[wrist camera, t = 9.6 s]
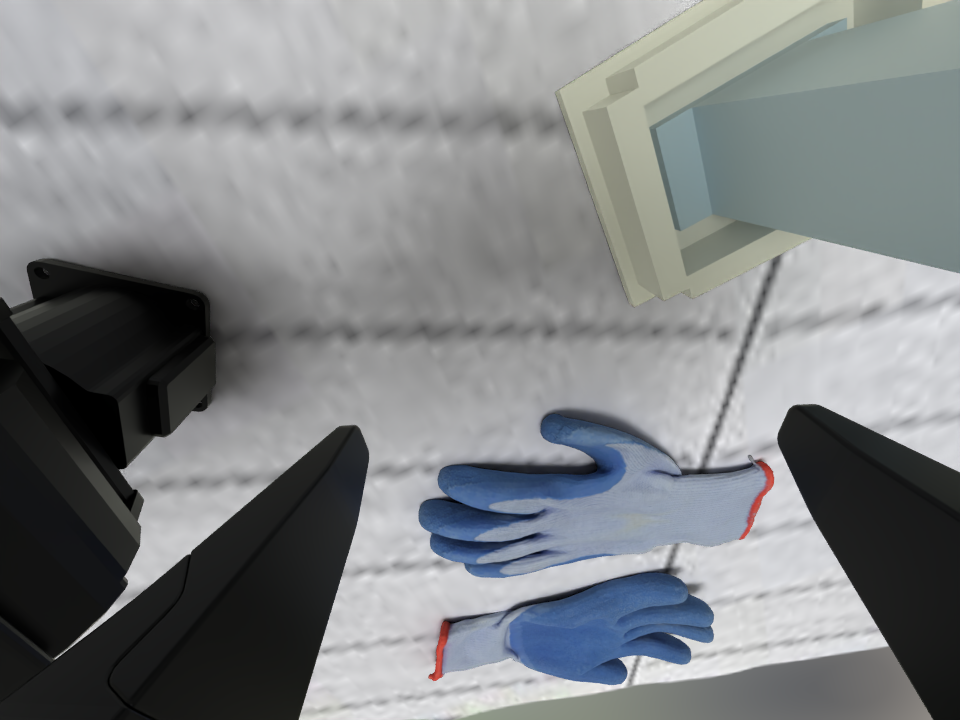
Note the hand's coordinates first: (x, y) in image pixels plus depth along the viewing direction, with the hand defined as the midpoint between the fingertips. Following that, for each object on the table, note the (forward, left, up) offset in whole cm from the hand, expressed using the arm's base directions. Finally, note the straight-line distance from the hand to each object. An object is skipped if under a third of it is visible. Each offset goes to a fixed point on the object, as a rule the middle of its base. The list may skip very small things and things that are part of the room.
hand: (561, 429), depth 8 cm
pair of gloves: (+15, -21, -13) cm, 29 cm away
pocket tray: (+9, +9, -12) cm, 17 cm away
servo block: (+9, +9, -11) cm, 17 cm away
